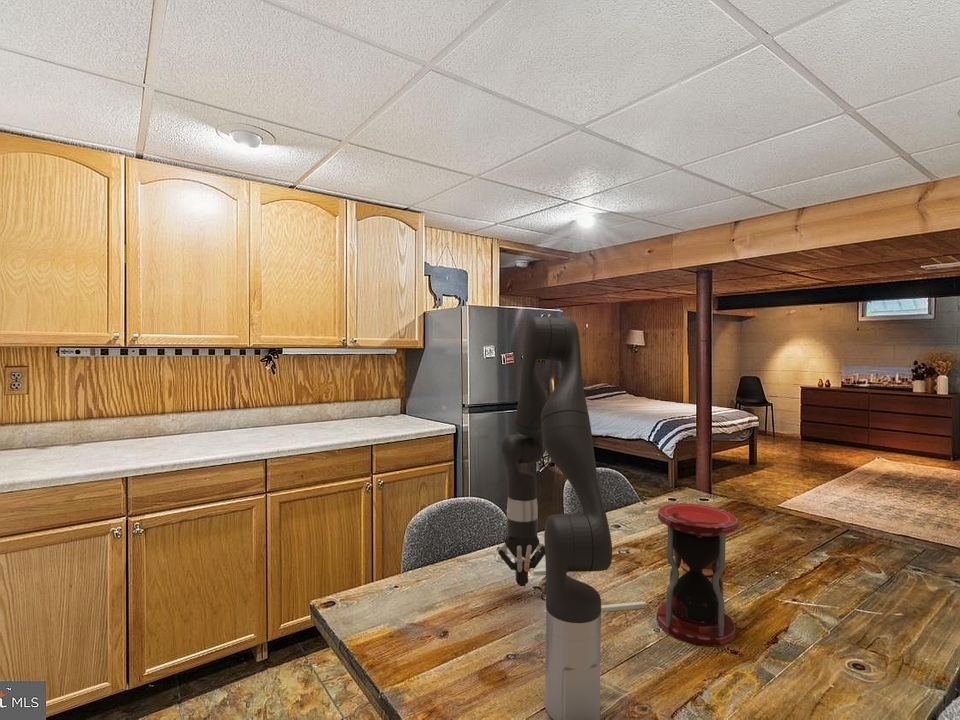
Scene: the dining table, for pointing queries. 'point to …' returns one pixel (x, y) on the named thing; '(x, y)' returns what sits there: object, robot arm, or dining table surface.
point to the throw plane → (603, 607)
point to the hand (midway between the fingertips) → (521, 584)
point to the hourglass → (696, 574)
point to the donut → (706, 571)
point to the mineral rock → (543, 584)
